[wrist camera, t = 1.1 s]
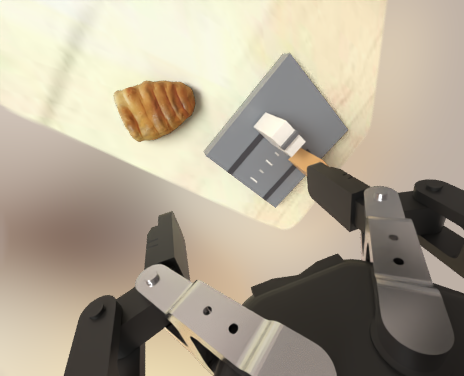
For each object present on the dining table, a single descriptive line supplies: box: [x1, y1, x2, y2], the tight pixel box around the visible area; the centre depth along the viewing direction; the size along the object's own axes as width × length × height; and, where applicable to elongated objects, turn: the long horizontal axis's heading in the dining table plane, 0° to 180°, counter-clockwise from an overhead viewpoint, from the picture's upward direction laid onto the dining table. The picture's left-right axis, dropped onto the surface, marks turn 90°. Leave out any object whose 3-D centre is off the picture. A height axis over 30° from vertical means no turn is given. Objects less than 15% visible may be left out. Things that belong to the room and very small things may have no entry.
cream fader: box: [254, 112, 306, 157], centre depth 30 cm, size 3×4×6 cm, turn 48°
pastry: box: [114, 81, 195, 142], centre depth 29 cm, size 9×7×4 cm
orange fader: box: [288, 148, 328, 176], centre depth 34 cm, size 3×4×6 cm, turn 48°
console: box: [204, 53, 348, 208], centre depth 36 cm, size 17×16×2 cm
